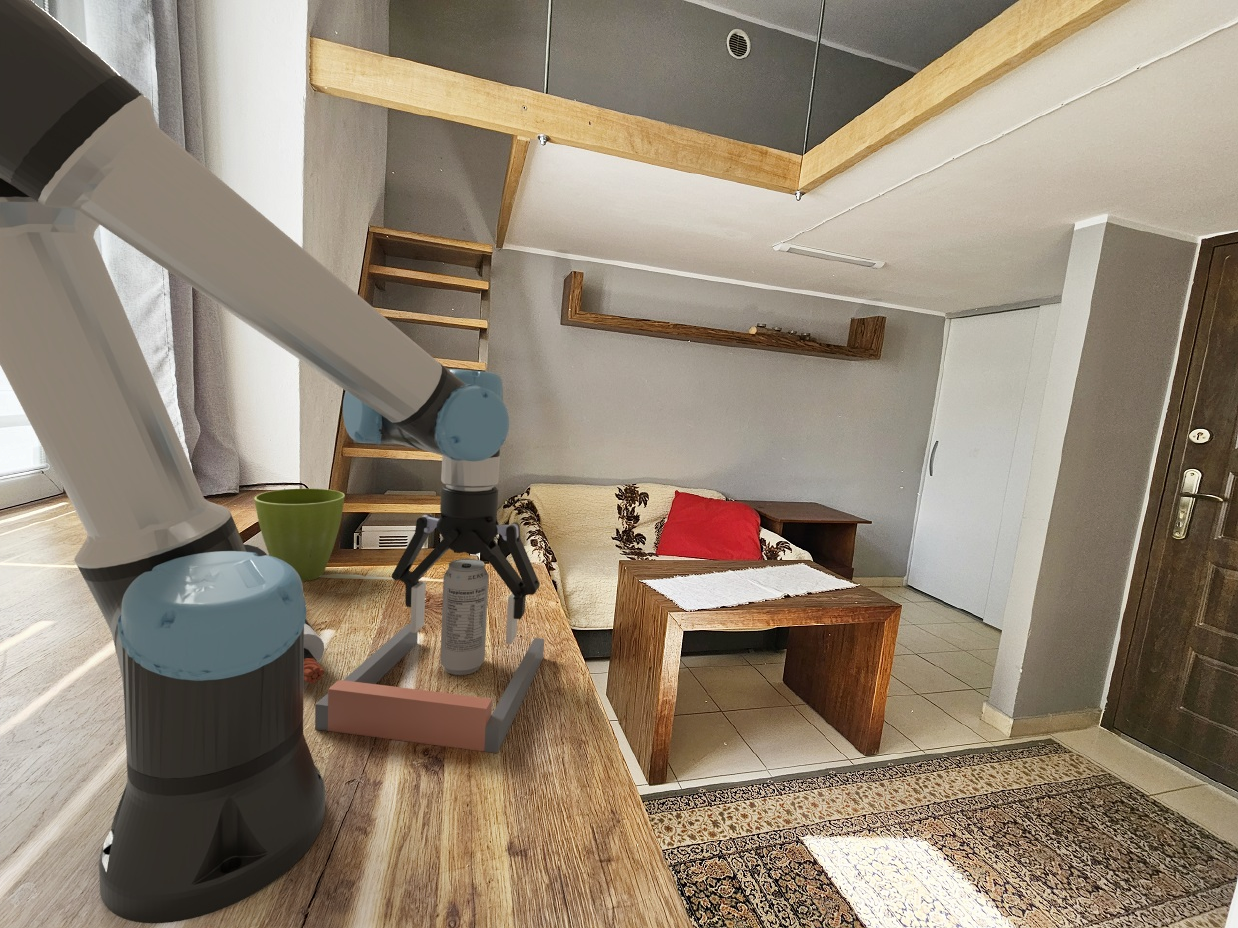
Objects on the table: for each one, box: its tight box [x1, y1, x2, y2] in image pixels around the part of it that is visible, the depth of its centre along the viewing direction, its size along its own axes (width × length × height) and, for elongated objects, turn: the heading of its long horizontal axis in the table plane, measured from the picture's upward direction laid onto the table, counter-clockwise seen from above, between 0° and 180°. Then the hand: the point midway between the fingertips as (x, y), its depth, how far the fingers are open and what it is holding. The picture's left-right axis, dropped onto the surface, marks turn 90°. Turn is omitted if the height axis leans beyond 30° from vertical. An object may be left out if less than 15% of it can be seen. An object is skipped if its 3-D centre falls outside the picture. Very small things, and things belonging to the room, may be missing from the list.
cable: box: [244, 544, 325, 685], centre depth 78 cm, size 10×34×10 cm, turn 46°
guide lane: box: [314, 623, 545, 754], centre depth 71 cm, size 22×21×5 cm
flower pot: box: [254, 488, 346, 582], centre depth 105 cm, size 15×15×16 cm
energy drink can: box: [440, 558, 489, 676], centre depth 76 cm, size 6×6×15 cm
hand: (463, 634), depth 76 cm, fingers open, 13 cm apart
